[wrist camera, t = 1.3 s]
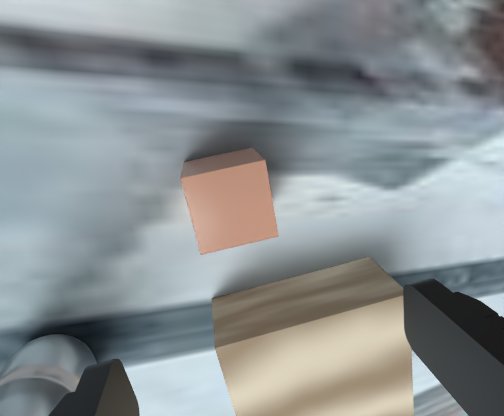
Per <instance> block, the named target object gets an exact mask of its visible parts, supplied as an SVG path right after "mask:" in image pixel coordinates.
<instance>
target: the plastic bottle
mask: <svg viewBox="0 0 504 416" xmlns="http://www.w3.org/2000/svg"><path fill="white" fill-rule="evenodd" d="M94 364H97V362H96V360H95V357H94V355H93V353H92V351H91V350H90V348H89V347H88V346H87V345H86V344H85V343H84V342H82V341H81V340H79V339H77V338H75V337H73V336H69V335H64V334H51V335H47V336H43V337H39V338H37V339H34V340H32V341H30V342H28V343H27V344H25V345H24V346H23V347H22V348H21V349H19V350H18V351H17V352H16V353H15V354H14V355H13V356H12V357H11V358H10V359H9V360H8V361H7V362H6V364H5V365H4V367H3V369H2V370H1V372H0V416H48V415H49V414H50V413H51V412H52V410H53V409H54V408H55V407H56V405H57V404H58V403H59V402H60V401H61V399H62V398H63V397H64V396H65V395H66V394H67V393H70V392H74V391H75V390H76V388H77V385H78V383H79V381H80V378H81V376H82V374H83V371H84V369H85V368H86V367H87V366H90V365H94Z"/></svg>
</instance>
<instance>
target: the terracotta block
mask: <svg viewBox="0 0 504 416" xmlns="http://www.w3.org/2000/svg"><path fill="white" fill-rule="evenodd" d="M180 179H181V183H182V186H183V190H184V194H185V197H186V201H187V205H188V209H189V212H190V216H191V220H192V223H193V227H194V231H195V234H196V238H197V242H198V246H199V249H200V253H201V255H202V254H206V253H211V252H215V251H219V250H223V249H227V248H232V247H236V246H240V245H244V244H248V243H253V242H257V241H261V240H265V239H269V238H274V237H278V231H277V225H276V219H275V213H274V207H273V201H272V196H271V190H270V184H269V178H268V172H267V166H266V160H265V159H264V158H263V157H262V156H261V155H260V154H259V153H258V152H257V151H255V150H254V149H253V148H247V149H243V150H238V151H233V152H228V153H224V154H219V155H214V156H210V157H205V158H200V159H196V160H191V161H186V162H184V164H183V168H182V173H181V178H180Z"/></svg>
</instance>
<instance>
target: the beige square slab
mask: <svg viewBox="0 0 504 416" xmlns="http://www.w3.org/2000/svg"><path fill="white" fill-rule="evenodd" d="M403 289H404V288H403V287H401V286H400V285H399V284H398V283H397V282H396V281H395V280H394V279H393V278H392V277H391V276H390V275H389V274H388V273H386V272H385V271H384V270H383V269H382V268H381V267H380V266H379V265H378V264H377V263H376V262H375V261H374V260H373V259H371V258H370V257H366V258H362V259H359V260H355V261H351V262H347V263H344V264H340V265H336V266H333V267H329V268H325V269H321V270H318V271H314V272H310V273H307V274H303V275H299V276H295V277H292V278H288V279H284V280H280V281H277V282H273V283H269V284H266V285H262V286H258V287H254V288H251V289H247V290H243V291H239V292H236V293H232V294H228V295H225V296H221V297H217V298H213V299H212V311H213V326H214V340H215V350H216V353H217V356H218V359H219V363H220V366H221V369H222V372H223V375H224V379H225V382H226V385H227V388H228V392H229V395H230V398H231V401H232V404H233V408H234V411H235V414H236V416H414V409H413V381H412V354H411V346H410V345H409V343H408V340H407V338H406V335H405V331H404V305H403Z"/></svg>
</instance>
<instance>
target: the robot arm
mask: <svg viewBox="0 0 504 416" xmlns="http://www.w3.org/2000/svg"><path fill="white" fill-rule="evenodd" d="M403 305H404V331H405V335H406V338H407V340H408V343H409V345H410V346H411V348H412V350H413V351H414V352H415V353H416V355H417V356H418V357H419V358H420V359H421V360H422V362H423V363H424V364H425V365H426V366H427V367H428V369H429V370H430V371H431V372H432V373H433V374H434V376H435V377H436V378H437V379H438V380H439V381H440V383H441V384H442V385H443V386H444V387H445V388H446V390H447V391H448V392H449V393H450V394H451V395H452V397H453V398H454V399H455V400H456V401H457V402H458V404H459V405H460V406H461V407H462V408H463V409H464V411H465V412H466V413H467V414H468V415H469V416H504V317H502V316H501V317H500V316H499V315H498V313H496V312H495V311H494V310H492V309H491V308H489V307H488V306H487V305H485V304H484V303H482V302H481V301H479V300H477V299H475V298H472V297H470V296H467V295H465V294H462V293H460V292H454V293H453V292H451V291H450V290H449V289H447V288H446V287H445V286H443V285H442V284H441V283H439V282H438V281H437V280H435V279H427V280H423V281H420V282H416V283H412V284H408V285H405V287H404V289H403ZM48 416H139V406H138V402H137V398H136V396H135V394H134V391H133V389H132V386H131V384H130V381H129V379H128V376H127V374H126V372H125V369H124V367H123V364H122V362H121V361H120V360H119V359H113V360H109V361H105V362H101V363H97V364H94V365H90V366H87V367H86V368H85V369H84V371H83V374H82V376H81V378H80V381H79V383H78V385H77V388H76V390H75V391H74V392H70V393H67V394H66V395H65V396H64V397H63V398H62V399H61V401H60V402H59V403H58V404H57V405H56V407H55V408H54V409H53V410H52V412H51V413H50V414H49V415H48Z"/></svg>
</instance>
